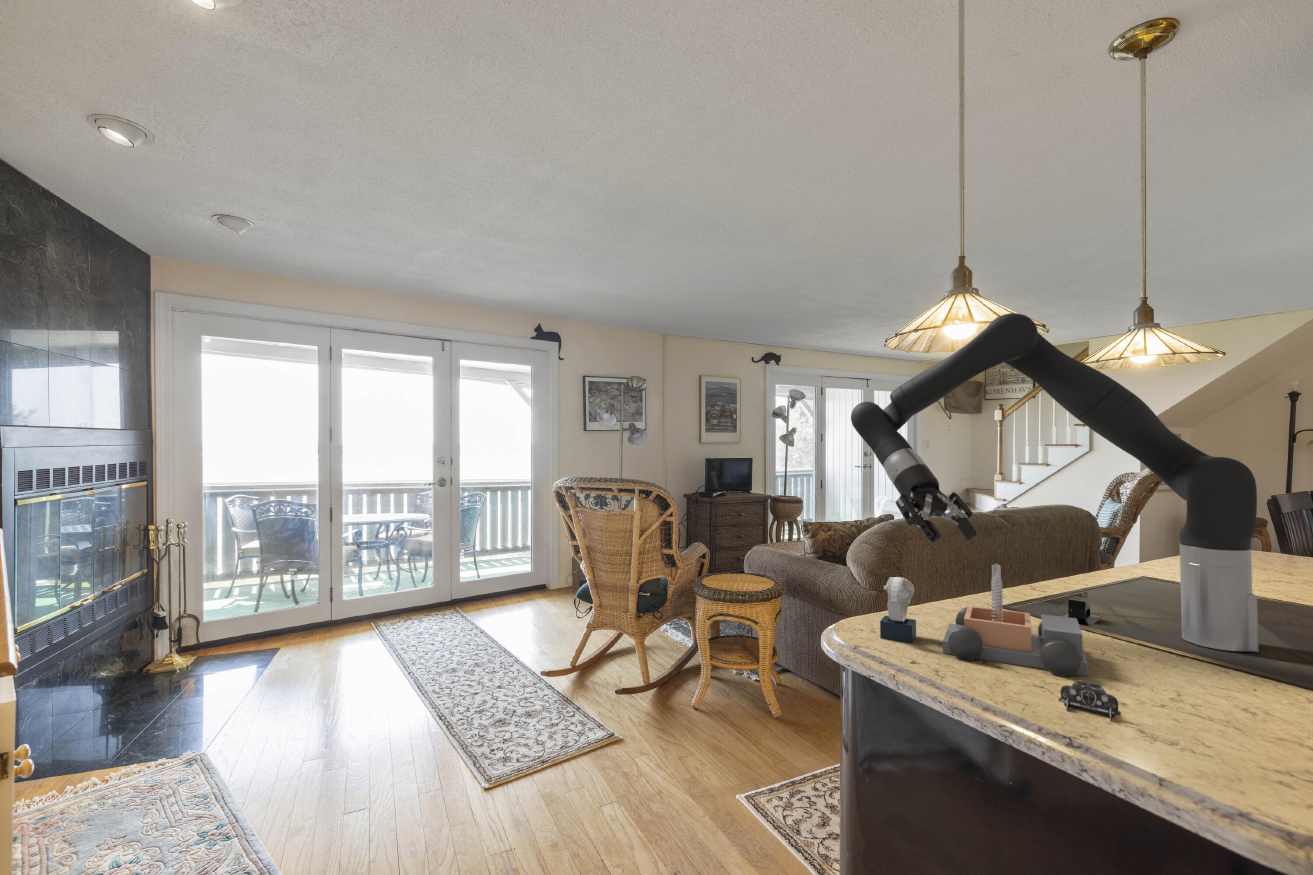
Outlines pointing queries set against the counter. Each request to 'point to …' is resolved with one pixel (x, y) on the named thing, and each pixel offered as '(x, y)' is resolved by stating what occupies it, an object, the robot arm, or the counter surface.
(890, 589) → the bust statue
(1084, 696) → the car cutout
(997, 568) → the screw
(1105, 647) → the counter surface
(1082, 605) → the black boxy piece
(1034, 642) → the toy chassis
